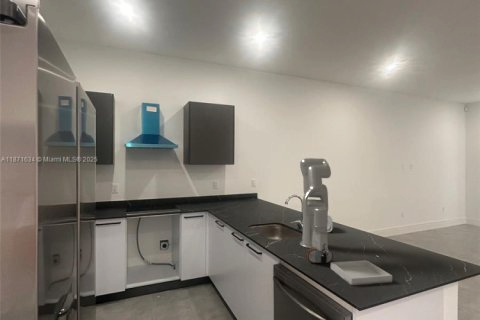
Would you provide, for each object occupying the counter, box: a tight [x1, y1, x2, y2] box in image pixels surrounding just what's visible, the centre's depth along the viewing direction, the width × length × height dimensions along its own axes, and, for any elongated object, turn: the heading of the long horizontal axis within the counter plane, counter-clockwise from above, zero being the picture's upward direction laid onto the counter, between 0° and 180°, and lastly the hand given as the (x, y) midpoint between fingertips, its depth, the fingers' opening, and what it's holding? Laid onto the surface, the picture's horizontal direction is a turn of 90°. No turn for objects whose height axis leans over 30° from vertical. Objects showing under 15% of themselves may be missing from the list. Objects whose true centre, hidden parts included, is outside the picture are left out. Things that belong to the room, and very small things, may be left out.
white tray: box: [330, 259, 393, 286], centre depth 124 cm, size 18×22×3 cm
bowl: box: [327, 214, 333, 233], centre depth 206 cm, size 20×19×12 cm
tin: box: [305, 247, 334, 264], centre depth 139 cm, size 15×3×8 cm, turn 92°
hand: (319, 259), depth 139 cm, fingers open, 7 cm apart
